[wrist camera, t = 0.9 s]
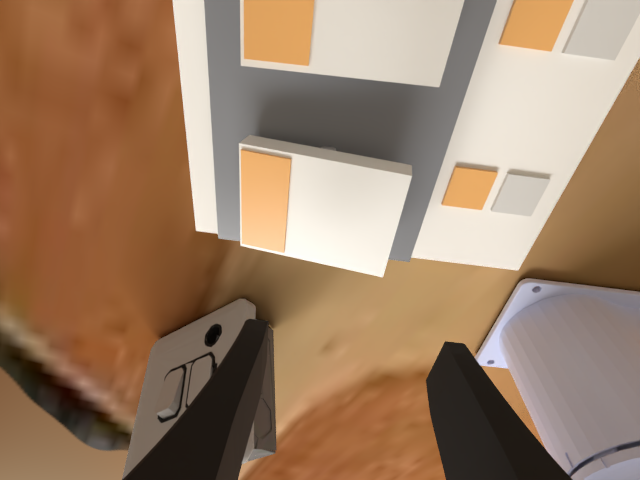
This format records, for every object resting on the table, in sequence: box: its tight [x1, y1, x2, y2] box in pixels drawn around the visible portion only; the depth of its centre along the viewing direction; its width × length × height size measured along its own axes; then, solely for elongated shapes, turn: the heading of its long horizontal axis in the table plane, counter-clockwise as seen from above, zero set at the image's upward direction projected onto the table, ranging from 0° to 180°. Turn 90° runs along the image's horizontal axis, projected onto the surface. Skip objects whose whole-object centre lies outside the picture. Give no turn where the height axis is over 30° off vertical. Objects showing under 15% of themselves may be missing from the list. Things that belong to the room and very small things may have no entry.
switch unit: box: [173, 0, 640, 270], centre depth 14 cm, size 18×16×4 cm
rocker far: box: [239, 135, 412, 277], centre depth 13 cm, size 6×4×1 cm
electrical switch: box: [122, 299, 276, 480], centre depth 22 cm, size 9×5×9 cm, turn 124°
